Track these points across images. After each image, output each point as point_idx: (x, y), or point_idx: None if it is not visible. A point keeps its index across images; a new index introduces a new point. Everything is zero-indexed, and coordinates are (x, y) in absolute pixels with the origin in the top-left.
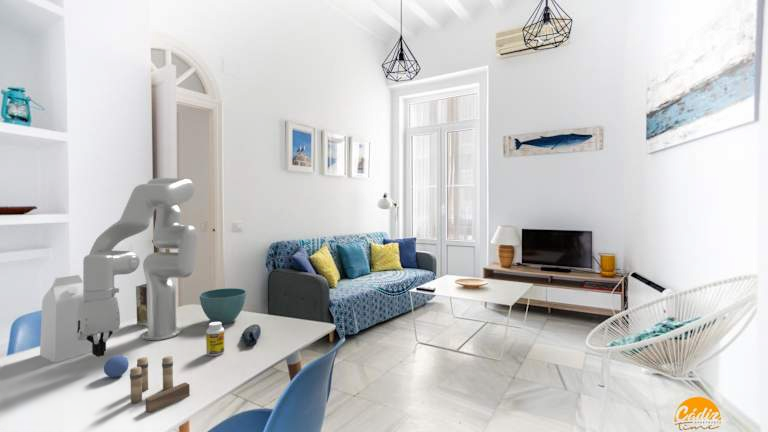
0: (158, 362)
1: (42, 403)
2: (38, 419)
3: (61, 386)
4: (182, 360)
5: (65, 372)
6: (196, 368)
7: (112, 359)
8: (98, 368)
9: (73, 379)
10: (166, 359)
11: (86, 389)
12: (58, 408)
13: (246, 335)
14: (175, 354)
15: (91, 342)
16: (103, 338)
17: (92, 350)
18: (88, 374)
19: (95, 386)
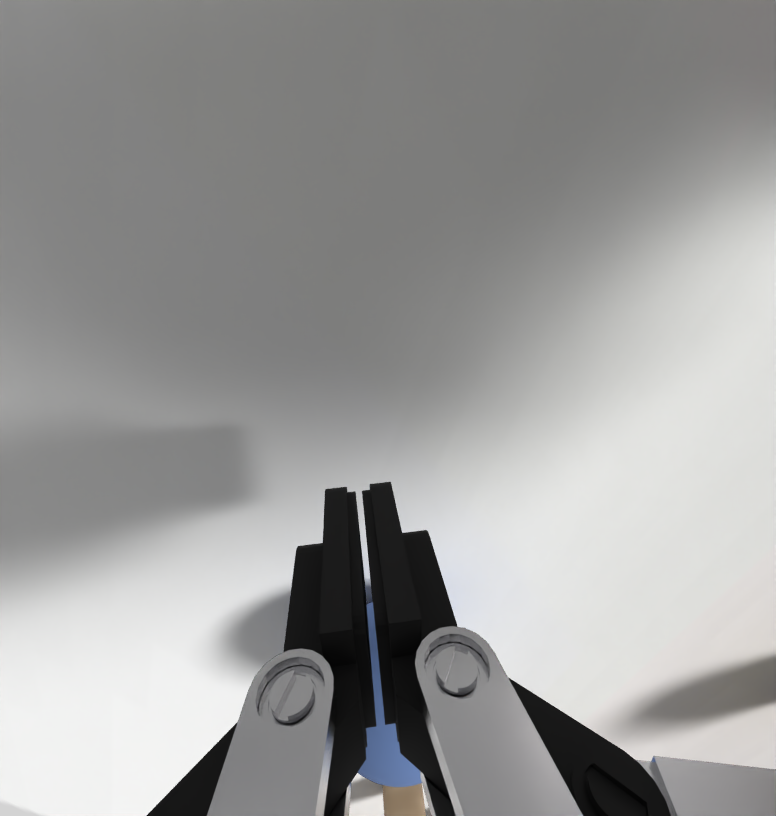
0: (631, 589)
1: (7, 672)
2: (15, 778)
3: (94, 538)
4: (699, 643)
5: (121, 261)
6: (642, 740)
7: (370, 780)
8: (363, 405)
9: (172, 480)
10: None
11: (220, 658)
12: (88, 745)
13: None
14: (768, 548)
15: (268, 685)
16: (430, 810)
17: (295, 574)
18: (275, 468)
19: (265, 654)
